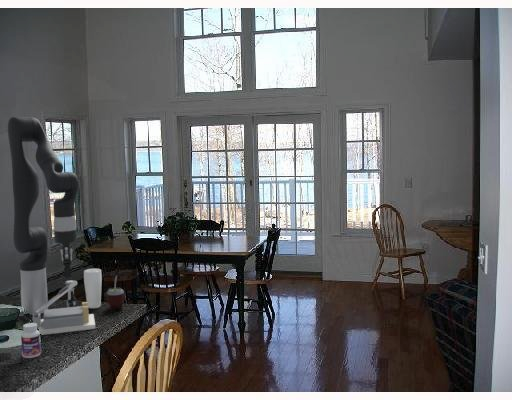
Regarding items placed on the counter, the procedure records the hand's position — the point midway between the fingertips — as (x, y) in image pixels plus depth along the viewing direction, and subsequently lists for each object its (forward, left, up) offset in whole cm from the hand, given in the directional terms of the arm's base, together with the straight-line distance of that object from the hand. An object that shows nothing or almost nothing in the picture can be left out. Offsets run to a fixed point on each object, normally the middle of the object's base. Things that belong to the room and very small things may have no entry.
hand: (67, 276), depth 195 cm
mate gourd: (-1, +22, -18) cm, 29 cm away
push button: (-20, +15, -18) cm, 31 cm away
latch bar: (-2, -3, -8) cm, 9 cm away
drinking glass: (-11, +19, -18) cm, 29 cm away
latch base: (-1, -2, -18) cm, 18 cm away
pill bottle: (+14, -24, -18) cm, 33 cm away
